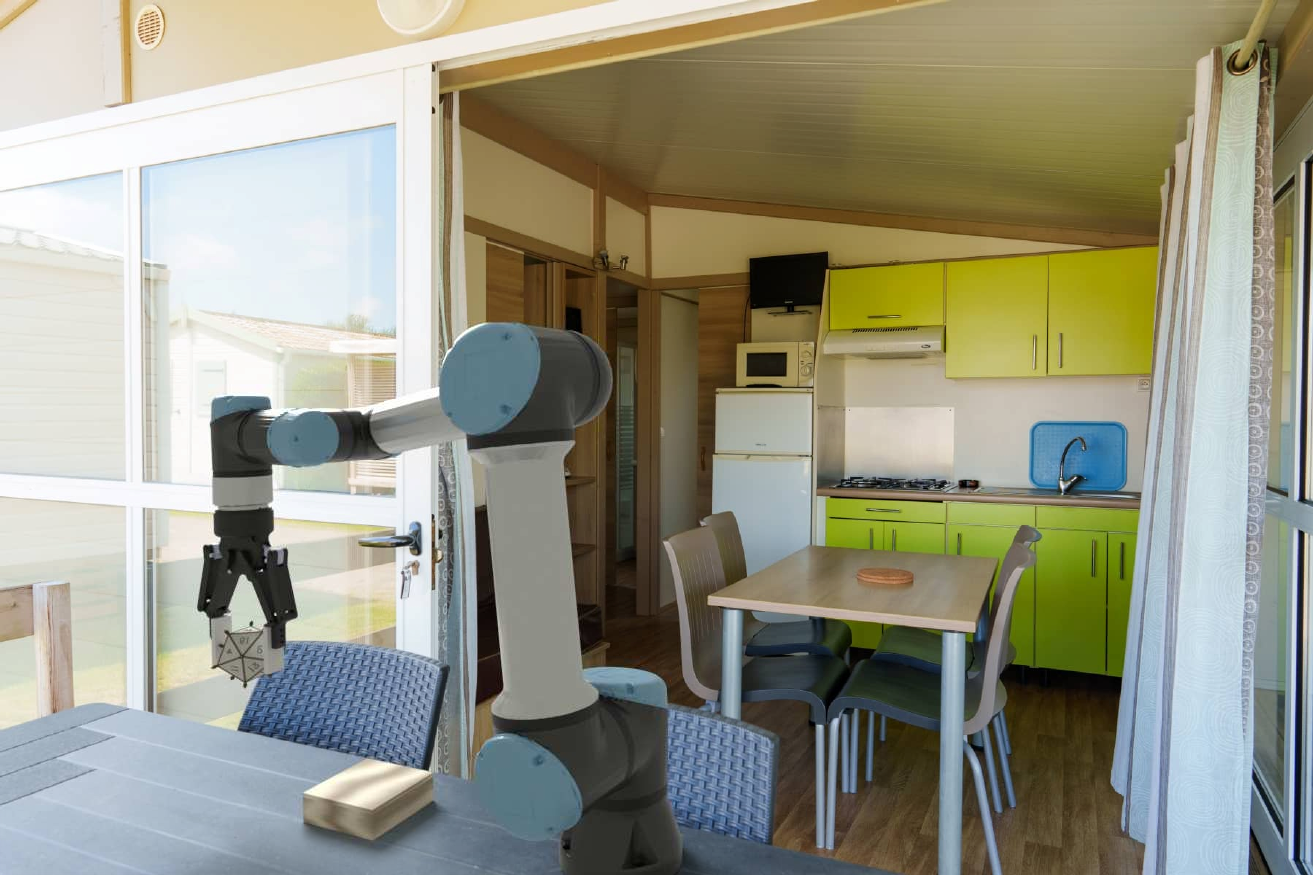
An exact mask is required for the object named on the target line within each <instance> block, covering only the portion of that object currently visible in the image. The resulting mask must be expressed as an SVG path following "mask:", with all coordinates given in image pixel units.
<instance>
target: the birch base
mask: <svg viewBox="0 0 1313 875" xmlns="http://www.w3.org/2000/svg"><path fill="white" fill-rule="evenodd" d="M434 793H435V792H434V772H433V771H432V772H431V771H427V770H422V769H418V768H414V767H413V768H412V767H409V766H405V765H400V764H395V763H391V762H386V761H382V760H376V759H371V758H365V759H363V760H361V761H359V762H358V763H356V764H354V765H352V766H350V767H348V768H346V769H345V770H342V771H341V772H339V773H337V774H334V776H331V777H329V778H327V779H325V780H324V781H323V782H321V783H318V784H317V785H314V786H313V787H311V788H309V789H307V790H305V791H304V792H302V818H303V821H302V822H303V823H305V824H309V825H312V826H313V825H314V826H316V827H320V828H323V829H328V830H332V831H336V832H339V833H343V834H346V835H351V836H353V837H358V838H361V839H366V840H368V841H375V840H376V839H378V838H379V837H381V836H383V835H384V834H385V833H387V832H389V831H390V830H391V829H394V827H396V826H398V825H399V824H401V823H402V822H404V821H405V820H407V819H408V818H410V817H411V816H413V815H414V814H416V813H417V812H419V811H420V810H421V809H423V808H425V807H426V806H428V805H430V804H431V803H432V802H434V800H435V799H434V798H435V796H434Z"/></svg>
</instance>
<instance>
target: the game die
mask: <svg viewBox="0 0 1313 875" xmlns="http://www.w3.org/2000/svg"><path fill="white" fill-rule="evenodd" d="M253 625H254V621H253V620H251V621H249V626H248V627H247V626H246V627H244V628H241V629H239V630H235V631H232V633H229V631H228V630H224V633H226V635H227V638H226V641H225V643H224V645H223V644H220V645H219V647H220V648H223V649H222V652H221V655H220V658H219V661H218V664H217V665H212V666H211V667H210V669H211V670H215V669H218V668H219V669H220V670H222V671H223V672H226V673H228V674H229V675H231V676H230V677H229V679H230V681H234V680H235V679H238V680H239V681H241V682H242V683H243V685H242V688H243V689H244V690H246V688H247V687H248V683H249V682H251V681H253V680H255V679H258V678H261V677H263V676H265V675H266V676H267V677H270V678H271V677H272V673H271V674H264V652H263V628H262V629H259V628H257V627H256V626H253Z"/></svg>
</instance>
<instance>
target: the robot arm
mask: <svg viewBox="0 0 1313 875" xmlns="http://www.w3.org/2000/svg"><path fill="white" fill-rule="evenodd" d="M613 380H614V378H613V369H612V367H611V364H610V361H609V358H608V356H607V355H606V352H604V351H603V349H602V348H601V347H600V345H599V344H598V343H597V342H595V341H594V340H593V339H592V338H590V337H589V336H587V335H585V334H582V333H580V332H578V331H576V330H575V331H574V330H570V329H569V330H568V329H561V328H552V327H551V328H549V327H546V326H545V327H543V326H538V325H530V324H523V323H520V322H516V321H509V322H484V323H481V324H477V325H475V326H473V327H470V328H467V330H465V331H464V332H463V333H461V334H460V335H459V336H458V337H457V338H456V339H455V340H454V342H453V346H452V347H451V348H450V349H448V350H447V351H446V354H445V356H444V358H443V360H442V364H441V367H440V370H439V375H438V386H437V387H435V388H431V389H428V390H424V391H420V392H417V393H413V394H409V395H406V396H402V397H401V396H400V397H398V398H395V399H391V400H390V399H389V400H386V401H384V402H381V403H376V404H373V405H369V406H365V407H358V408H357V407H356V408H310V407H309V408H308V407H307V408H306V407H304V408H300V407H296V408H295V407H294V408H280V409H278V408H277V409H272V402H271V399H270V397H269V396H267V395H265V394H264V395H263V394H233V395H232V394H231V395H229V394H226V395H225V394H222V395H217V396H215V397H214V398H213V399H212V401H211V405H210V406H211V407H210V410H211V411H210V413H211V414H210V421H209V428H210V447H211V449H210V450H211V469H212V470H211V472H212V476H211V478H212V479H211V480H212V481H211V483H212V484H211V485H212V488H211V489H212V493H211V494H212V505H214V506H215V507H217V508H216V509H215V510H214V511H213V513H212V514H213V534H214V536H216V537H218V538H220V540H219V541H218V542H211V543H206V544H203V545H202V553H203V565H202V572H201V579H200V586H199V592H198V598H197V604H196V610H197V611H198V612H199V613H202V612H204V613H205V615H206V617H207V618H208V620H209V621H208V623H209V624H208V625H209V637H210V640H211V665H212V666H214V665H217V664H218V661H219V658H220V655H221V652H222V649H223V648H220V647H219V645H220V644H223V645H224V643H225V641H226V638H227V635H226V633H224V630H228V631H229V633H232V632H233V629H232V628H233V624H232V622H233V621H232V615H231V614H230V613H231V612H232V610H230V609H229V606H230V604H231V602H232V599H233V596H234V593H235V591H236V588H237V586H238V583H239V579H240V577H241V576H243V575H244V576H245V577H246V581H248V582H249V583H251V585H252V587H253V590H254V592H255V594H256V598H257V599H258V602H259V604H260V607H261V610H262V612H263V615H264V618H265V620H266V622H265V624H263V625H262V629H263V652H264V674H265V675H267V674H271V675H272V674H273V673H276V672H279V671H282V670H284V669H285V651H284V650H285V647H286V645H287V644H286V643H287V635H286V634H287V632H286V631H287V630H286V628H287V627H286V625H287V623H288V622H291V621H293V620H295V619H297V618H298V616H299V614H298V613H299V612H298V608H297V604H296V600H295V593H294V590H293V583H292V579H291V573H290V570H289V564H288V562H289V561H288V560H289V558H288V557H289V549H288V548H287V547H280V548H276V547H272V545H271V543H270V539H269V538H270V535H271V534H272V533H273V532H274V530H275V519H274V518H275V515H274V514H275V512H274V509H275V508H274V507H272V506H271V505H270V504H271V503H272V502H274V487H273V486H274V485H273V483H274V482H273V481H274V480H273V474H274V473H273V472H274V471H273V466H285V467H288V466H289V467H291V468H297V469H300V468H303V467H304V468H309V467H317V466H321V465H323V464H332V463H342V462H352V461H353V462H354V461H367V460H369V461H371V460H373V461H380V460H387V459H390V458H396V457H398V456H400V455H402V454H403V453H406V452H408V451H409V452H410V451H413V450H417V449H422V448H427V447H430V446H437V445H441V444H445V443H450V442H455V441H459V440H465V439H466V449H467V451H466V452H467V454H468V455H469V456H470V457H471V458H473V460H475V461H476V462H477V463H478V464H480V466H481V467H482V469H483V476H484V477H483V479H484V488H485V501H486V509H487V521H488V522H487V523H488V530H489V539H490V540H489V541H490V553H491V563H492V572H493V586H494V595H495V596H494V597H495V607H496V617H497V618H496V619H497V627H498V628H497V629H498V640H499V649H500V662H501V670H502V671H501V672H502V681H503V689H502V690H501V692H500V693H499V695H498V696H497V697H496V698H495V699H494V701H493V702H492V704H491V706H490V708H491V709H490V710H491V711H490V712H491V720H492V732H493V733H492V734H493V736H492V737H490V738H488V739H486V741H485V742H484V743H483V745H482V746H481V748H480V750H479V751H478V752H477V754H476V756H475V759H474V765H473V780H474V785H475V789H476V792H477V795H478V797H479V800H480V802H481V804H482V806H483V807H484V809H485V811H486V812H487V813H488V815H489V816H490V817H491V818H492V819H494V820H495V821H496V823H497V825H498V826H499V827H500V828H502V830H503V831H506V832H507V833H508V834H510V835H512V836H513V837H515V838H518V839H520V840H524V841H529V842H542V841H546V840H549V839H552V838H553V837H555V836H557V835H558V834H560V833H561V834H560V837H559V841H558V842H559V843H558V863H559V868H560V870H561V872H562V871H563V872H562V873H563V875H675V874H676V873H677V872H678V870H680V867H681V865H682V863H683V839H682V834H681V832H680V829H679V825H678V822H677V818H676V816H675V814H674V810H673V807H672V805H671V804H672V803H671V800H670V798H669V793H668V792H669V788H668V787H669V786H668V784H669V782H668V781H669V780H668V779H669V775H668V774H669V770H668V769H669V767H668V766H669V763H668V762H669V710H670V705H669V704H668V692H667V690H668V689H667V685H666V682H665V681H664V680H663V678H662V677H660V676H659V675H657V674H655V673H653V672H650V671H647V670H642V669H637V668H630V667H621V666H618V667H616V666H601V667H600V666H598V667H590V668H584V669H583V660H582V659H583V658H582V649H581V647H582V646H581V640H580V639H581V638H580V629H579V626H580V625H579V618H578V609H577V608H578V606H577V605H578V604H577V596H576V595H577V594H576V587H575V576H574V564H573V554H572V552H573V551H572V543H571V542H572V541H571V532H570V521H569V511H568V501H567V490H566V489H567V488H566V478H565V468H564V466H565V465H564V460H565V457H566V455H568V454H569V452H570V451H571V450H572V448H573V447H574V446H575V444H576V437H575V436H576V434H575V428H577V427H580V426H584V425H586V424H587V423H589V422H591V421H592V420H594V419H595V418H596V417H597V416H599V415H600V414H601V413H602V411H603V409H605V407H606V406H607V404H608V402H609V399H610V397H611V393H612V390H613V382H614V381H613ZM208 600H209V601H208Z"/></svg>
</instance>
